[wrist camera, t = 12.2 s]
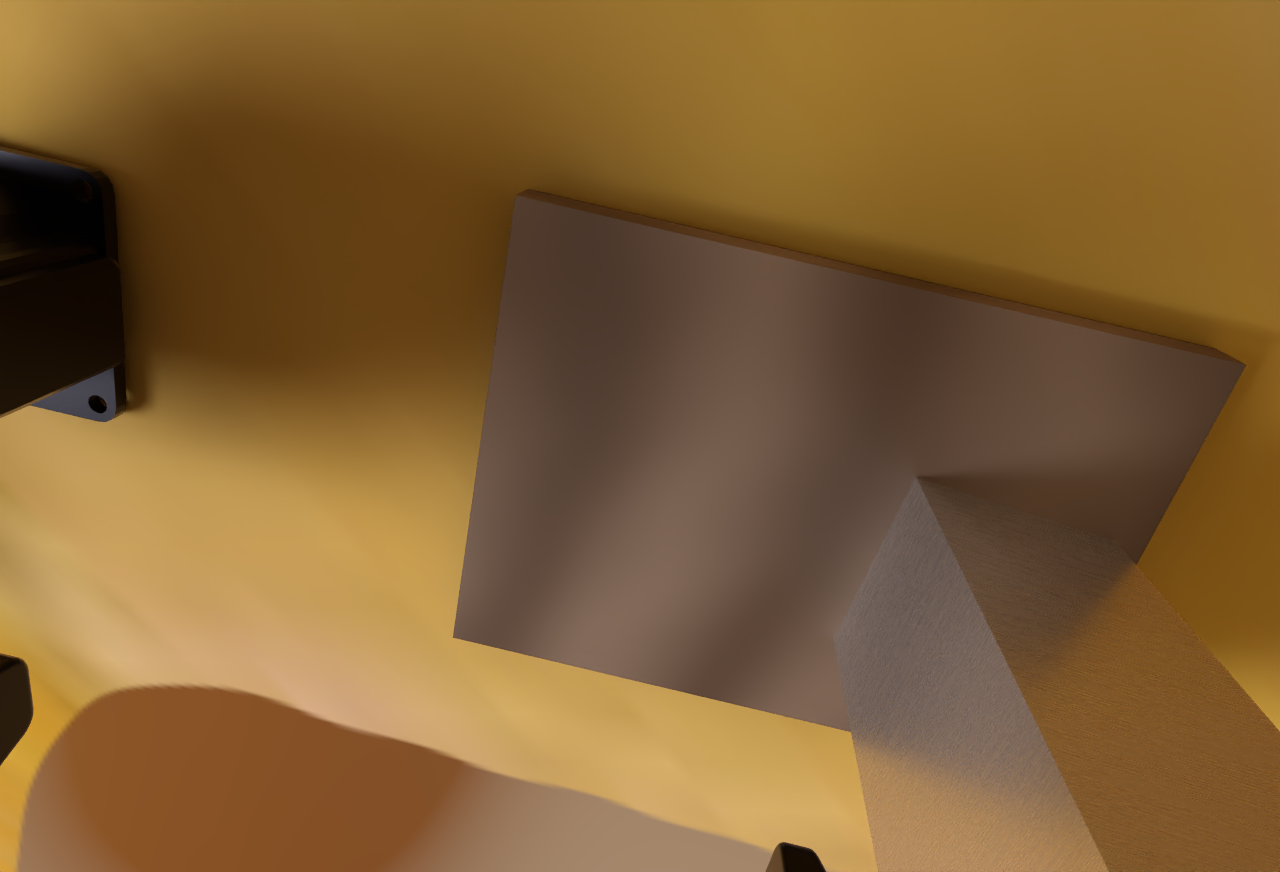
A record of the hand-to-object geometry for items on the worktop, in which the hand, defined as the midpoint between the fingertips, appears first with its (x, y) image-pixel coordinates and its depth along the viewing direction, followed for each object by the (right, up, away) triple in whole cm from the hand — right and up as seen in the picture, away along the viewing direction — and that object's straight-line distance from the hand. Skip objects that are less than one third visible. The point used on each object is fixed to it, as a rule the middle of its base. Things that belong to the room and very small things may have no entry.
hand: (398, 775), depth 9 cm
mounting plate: (+7, +2, +11) cm, 13 cm away
